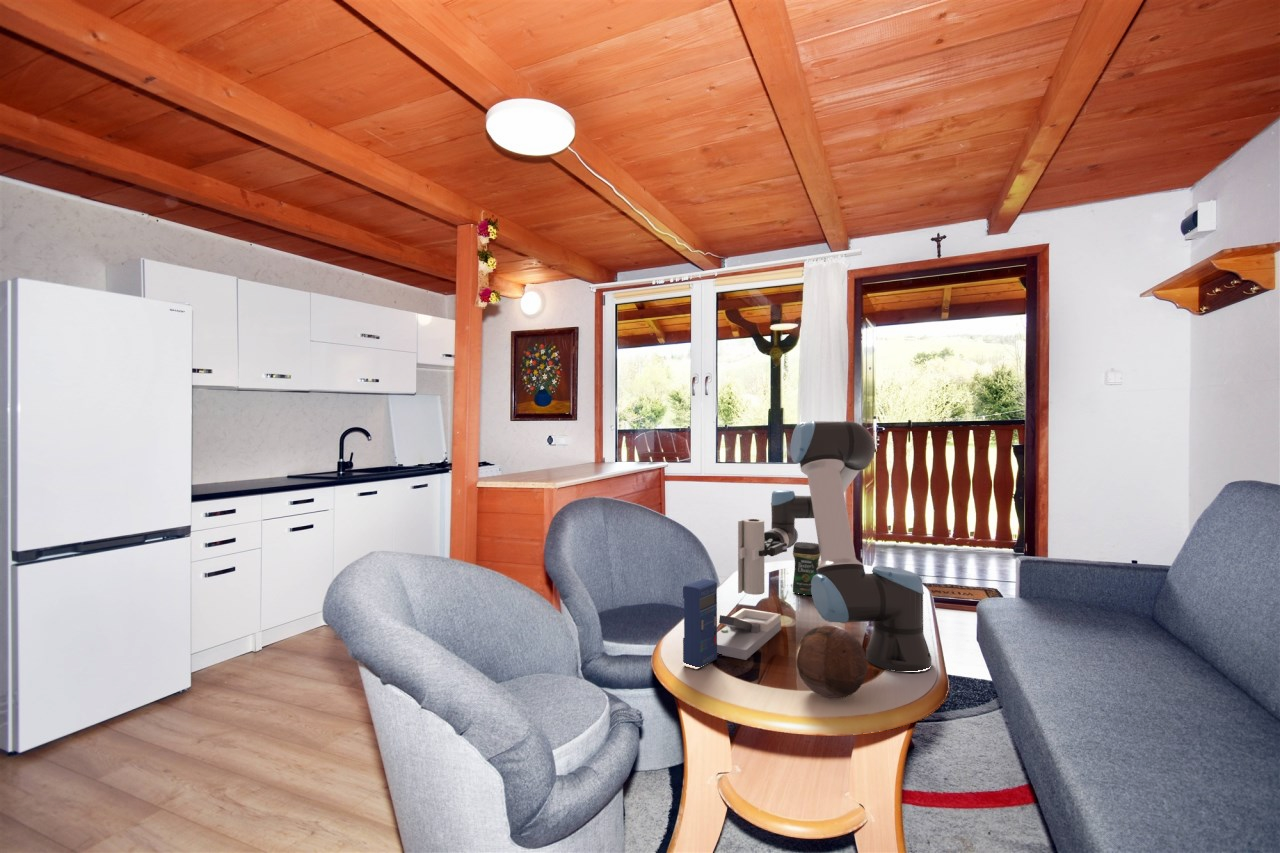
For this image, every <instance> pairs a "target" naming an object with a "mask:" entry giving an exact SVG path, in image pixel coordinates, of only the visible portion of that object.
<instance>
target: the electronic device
mask: <svg viewBox="0 0 1280 853" xmlns="http://www.w3.org/2000/svg"><path fill="white" fill-rule="evenodd" d="M717 595H718V584H717V582H716V580H713V579H708V578H707V579H706V578H703V579H700V580H697V581H694V582H692V583H689V584H686V585H683V587H682V598H683V617H684V618H683V630H684V631H683V635H684V636H683V637H682V646H683V647H682V649H683V650H682V656H683V657H682V661H683V662H684V663H686V664H689V665H692V666H695V667H701V666H703V665H705V664H707V663H709V664H711V663H712V662H714V661H715V660H717V659H718V654H717V632H718V596H717ZM707 665H708V664H707ZM705 666H706V665H705ZM703 667H704V666H703Z"/></svg>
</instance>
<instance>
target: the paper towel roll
mask: <svg viewBox="0 0 1280 853" xmlns="http://www.w3.org/2000/svg"><path fill="white" fill-rule="evenodd" d="M737 531H738V532H737V552H738V553H737V559H738V560H737V562H738V563H737V564H738V565H737V569H738V570H737V572H738V573H737V575H738V576H737V579H738V580H737V581H738V582H737V586H738V587H737V592H738V593H737V594H741V593H743V592H744V594H748V595H753V596H754V595H756V596H757V595H763V594H765V556H759V558H758V559H756V560H752V550H754V549H758V548H759V551H762V550H764V533H765V520H762V519H757V518H751V519H750V518H749V519H742V520H740V521H739V520H738V521H737ZM743 547H746V557H744V558H742V559H740V558H739V549H741V548H743Z"/></svg>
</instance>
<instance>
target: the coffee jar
mask: <svg viewBox="0 0 1280 853" xmlns="http://www.w3.org/2000/svg"><path fill="white" fill-rule="evenodd" d="M792 556H793V559H794V570H793V572H794V573H793V583H792V592H793V593H794V592H795V593H799V594H805V595H804V596H807V595H812V593H811V587H812V586H811V580H812V578H813V576H815V575H816V574H817V568H818V566H819V561H820V559H821V556H820V550H819V544H818V543H815V542H805V541H803V542H802V541H801V542H800V541H796V542H795V543H794V545H793V549H792ZM795 593H794V594H795ZM799 594H798V595H799Z"/></svg>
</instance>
